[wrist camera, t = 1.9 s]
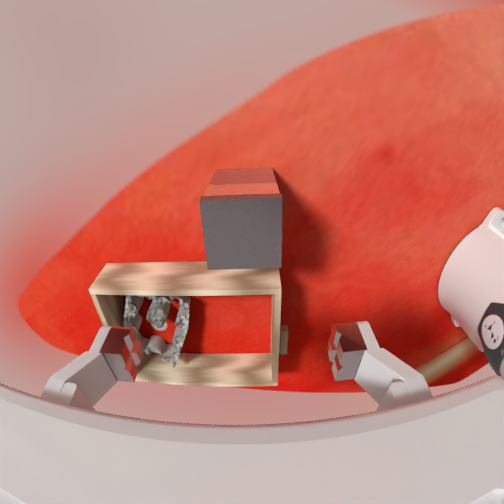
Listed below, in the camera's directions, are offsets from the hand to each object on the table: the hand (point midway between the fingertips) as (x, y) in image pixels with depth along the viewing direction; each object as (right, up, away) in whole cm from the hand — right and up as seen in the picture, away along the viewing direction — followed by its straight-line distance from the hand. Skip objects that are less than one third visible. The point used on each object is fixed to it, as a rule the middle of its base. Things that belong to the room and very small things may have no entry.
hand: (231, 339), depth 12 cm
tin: (0, +9, +15) cm, 18 cm away
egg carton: (-10, -4, +23) cm, 26 cm away
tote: (-6, -4, +23) cm, 24 cm away
